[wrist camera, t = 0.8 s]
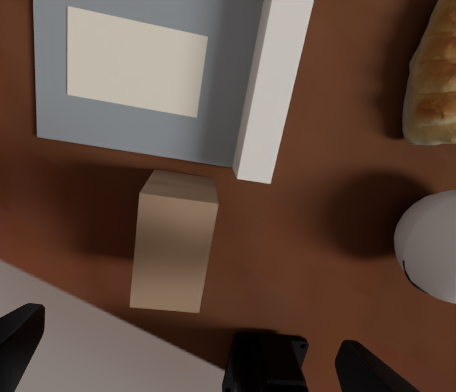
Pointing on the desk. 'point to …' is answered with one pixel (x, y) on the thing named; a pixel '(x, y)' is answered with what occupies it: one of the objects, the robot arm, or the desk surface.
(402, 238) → the white egg
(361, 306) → the desk surface
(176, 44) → the corner arena
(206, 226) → the walnut block
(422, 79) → the pastry
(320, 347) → the desk surface
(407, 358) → the desk surface
